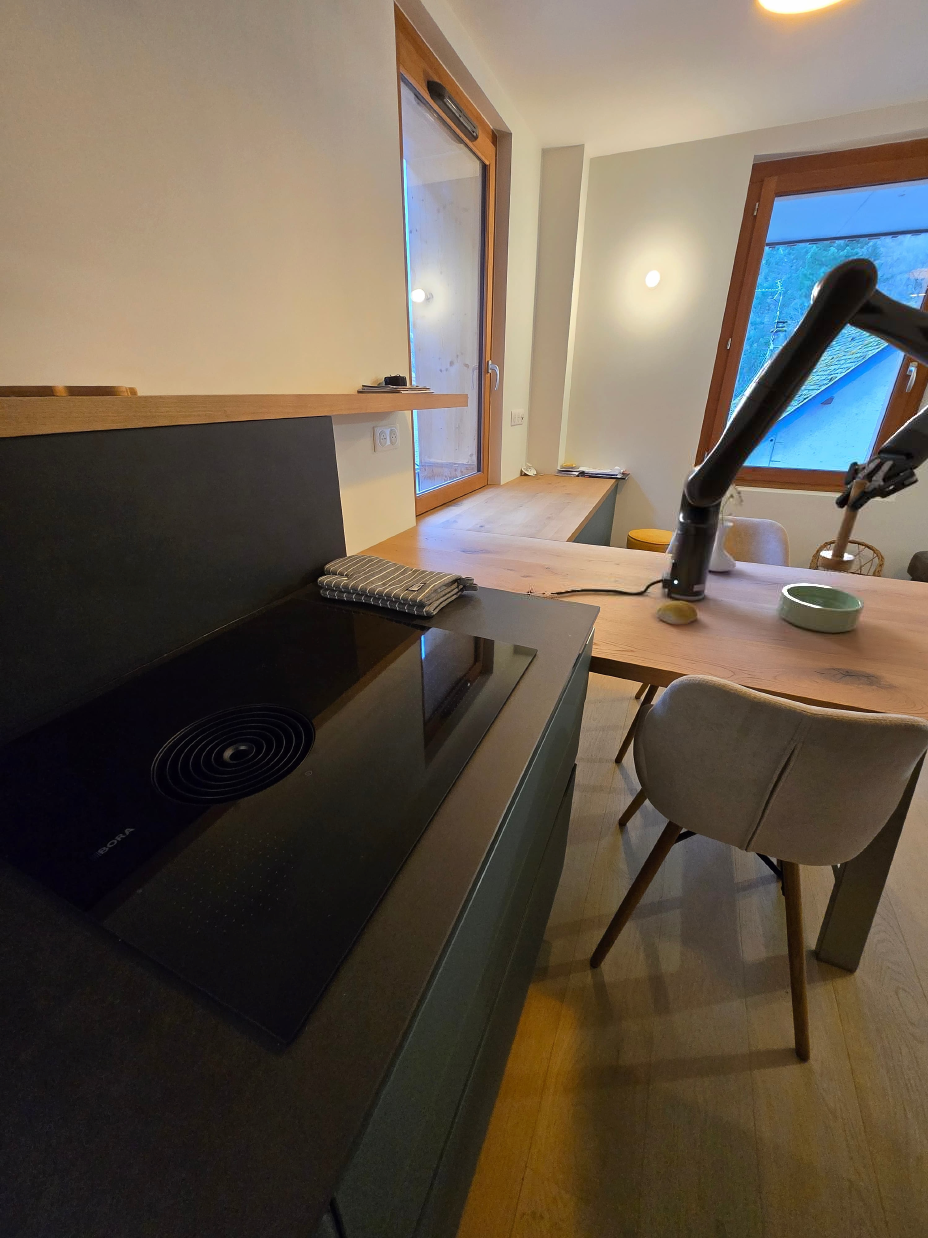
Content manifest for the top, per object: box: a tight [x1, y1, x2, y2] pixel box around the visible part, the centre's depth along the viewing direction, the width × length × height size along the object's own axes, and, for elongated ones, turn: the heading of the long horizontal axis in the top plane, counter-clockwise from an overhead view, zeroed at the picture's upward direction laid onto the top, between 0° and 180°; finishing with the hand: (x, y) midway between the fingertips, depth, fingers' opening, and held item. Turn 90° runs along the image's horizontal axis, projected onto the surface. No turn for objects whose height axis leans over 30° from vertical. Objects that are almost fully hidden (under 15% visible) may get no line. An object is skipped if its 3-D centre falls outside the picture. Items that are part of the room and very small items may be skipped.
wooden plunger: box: [816, 480, 868, 572], centre depth 101 cm, size 6×6×18 cm
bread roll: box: [655, 600, 698, 625], centre depth 117 cm, size 8×9×4 cm
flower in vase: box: [709, 483, 744, 572], centre depth 144 cm, size 13×11×25 cm
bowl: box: [776, 583, 865, 634], centre depth 115 cm, size 16×16×6 cm
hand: (844, 506), depth 99 cm, fingers closed on wooden plunger
